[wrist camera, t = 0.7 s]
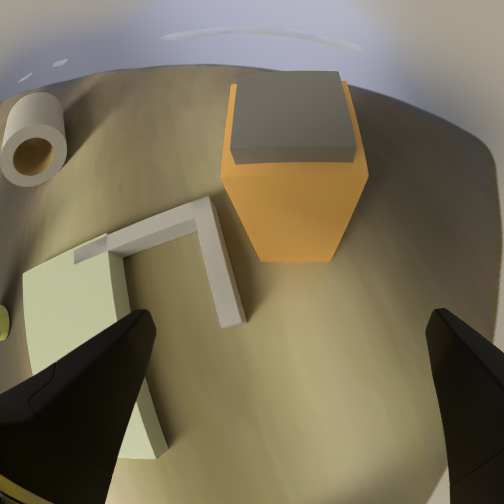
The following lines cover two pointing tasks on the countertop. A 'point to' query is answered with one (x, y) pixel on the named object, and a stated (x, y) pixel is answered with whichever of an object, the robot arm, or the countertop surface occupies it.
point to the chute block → (293, 162)
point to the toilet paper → (34, 140)
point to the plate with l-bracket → (120, 299)
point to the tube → (4, 323)
